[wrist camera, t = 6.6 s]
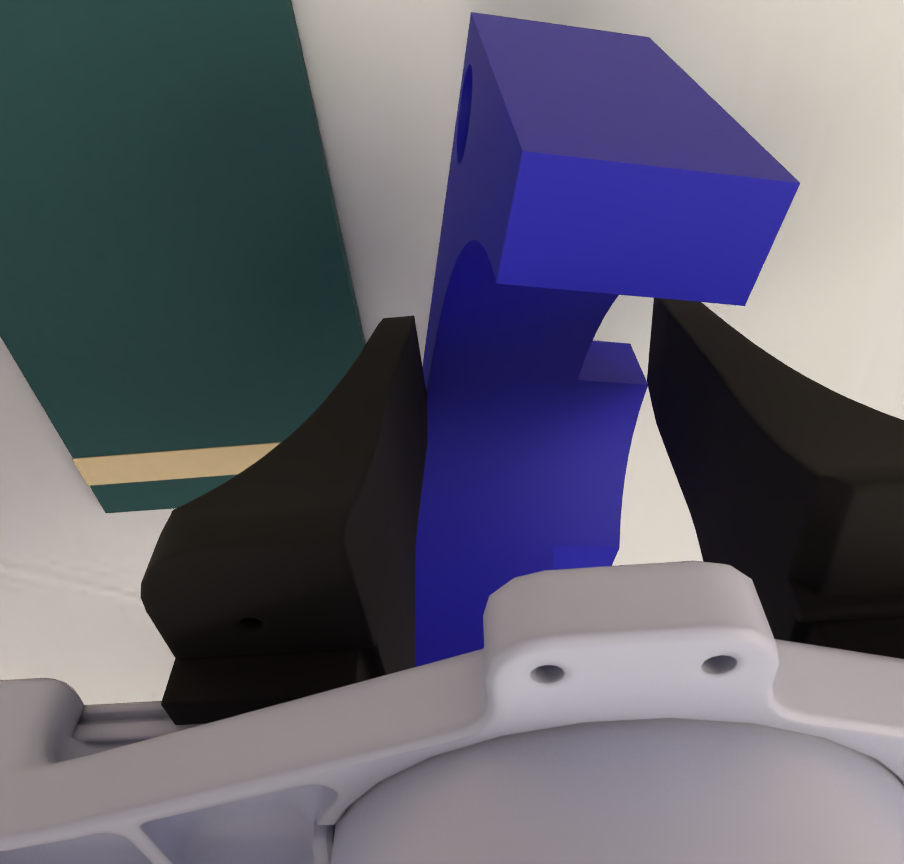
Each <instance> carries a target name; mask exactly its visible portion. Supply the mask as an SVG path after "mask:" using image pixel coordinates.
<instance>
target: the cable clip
mask: <svg viewBox="0 0 904 864" xmlns="http://www.w3.org/2000/svg"><path fill="white" fill-rule="evenodd" d="M799 185H800V182H799V181H798V180H797V179H795V178H794V177H793V176H792V175H791V174H790V173H789V172H788V171H787V170H786V169H785V168H784V167H783V166H782V165H781V164H780V163H779V162H778V161H777V160H776V159H775V158H774V157H773V156H772V155H771V154H770V153H769V152H767V151H766V150H765V149H764V148H763V147H762V146H761V145H760V144H759V143H758V142H757V141H756V140H755V139H754V138H753V137H752V136H751V135H750V134H749V133H748V132H747V131H746V130H745V129H744V128H743V127H742V126H741V125H739V124H738V123H737V122H736V121H735V120H734V119H733V118H732V117H731V116H730V115H729V114H728V113H727V112H726V111H725V110H724V109H723V108H722V107H721V106H720V105H719V104H718V103H717V102H716V101H715V100H714V99H713V98H711V97H710V96H709V95H708V94H707V93H706V92H705V91H704V90H703V89H702V88H701V87H700V86H699V85H698V84H697V83H696V82H695V81H694V80H693V79H692V78H691V77H690V76H689V75H688V74H687V73H686V72H685V71H683V70H682V69H681V68H680V67H679V66H678V65H677V64H676V63H675V62H674V61H673V60H672V59H671V58H670V57H669V56H668V55H667V54H666V53H665V52H664V51H663V50H662V49H661V48H660V47H659V46H658V45H657V44H655V43H654V42H653V41H652V40H651V39H650V38H649V37H644V36H637V35H629V34H622V33H615V32H608V31H601V30H594V29H587V28H580V27H573V26H566V25H559V24H551V23H544V22H537V21H530V20H523V19H516V18H509V17H502V16H495V15H488V14H480V13H473V12H471V17H470V24H469V31H468V39H467V46H466V53H465V61H464V68H463V75H462V82H461V90H460V97H459V104H458V112H457V119H456V126H455V133H454V141H453V148H452V155H451V163H450V170H449V177H448V185H447V192H446V199H445V206H444V214H443V221H442V228H441V236H440V243H439V250H438V257H437V265H436V272H435V279H434V287H433V294H432V301H431V308H430V316H429V323H428V330H427V338H426V345H425V352H424V360H423V367H422V368H423V375H424V381H425V387H426V393H427V411H428V442H427V451H426V460H425V468H424V477H423V485H422V493H421V501H420V509H419V517H418V525H417V536H416V564H415V654H416V667H418V666H421V665H425V664H429V663H432V662H436V661H440V660H443V659H447V658H451V657H455V656H458V655H462V654H466V653H469V652H473V651H477V650H480V649H483V648H484V628H483V614H484V611H485V608H486V605H487V602H488V598H489V596H490V595H491V594H492V593H494V592H495V591H497V590H498V589H499V588H501V587H502V586H504V585H505V584H506V583H508V582H509V581H510V580H512V579H513V578H515V577H519V576H523V575H527V574H532V573H536V572H540V571H544V570H558V569H574V568H589V567H604V566H612V564H613V561H614V559H615V557H616V554H617V552H618V550H619V542H620V519H621V507H622V496H623V488H624V479H625V473H626V467H627V461H628V455H629V450H630V446H631V441H632V436H633V432H634V428H635V425H636V421H637V417H638V413H639V410H640V407H641V404H642V401H643V398H644V395H645V392H646V389H647V387H648V384H647V381H646V379H645V377H644V374H643V372H642V370H641V367H640V365H639V363H638V361H637V358H636V356H635V354H634V351H633V349H632V347H631V344H628V343H615V342H603V341H592V340H593V338H594V336H595V334H596V332H597V330H598V328H599V326H600V324H601V322H602V320H603V318H604V316H605V315H606V313H607V312H608V310H609V308H610V307H611V305H612V303H613V302H614V301H615V300H616V298H617V297H618V296H619V295H630V296H641V297H652V298H663V299H675V300H686V301H697V302H708V303H719V304H730V305H741V306H745V304H746V302H747V300H748V297H749V295H750V293H751V291H752V289H753V286H754V284H755V282H756V280H757V277H758V275H759V273H760V271H761V269H762V266H763V264H764V262H765V260H766V258H767V255H768V253H769V251H770V249H771V247H772V244H773V242H774V240H775V238H776V235H777V233H778V231H779V229H780V227H781V224H782V222H783V220H784V218H785V216H786V213H787V211H788V209H789V207H790V205H791V202H792V200H793V198H794V196H795V194H796V191H797V189H798V187H799Z"/></svg>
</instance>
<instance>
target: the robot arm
mask: <svg viewBox="0 0 904 864" xmlns="http://www.w3.org/2000/svg"><path fill="white" fill-rule="evenodd" d="M647 383H648V388H649V393H650V397H651V402H652V407H653V411H654V415H655V420H656V423H657V426H658V429H659V432H660V434H661V437H662V440H663V443H664V445H665V448H666V451H667V453H668V456H669V458H670V461H671V464H672V466H673V469H674V471H675V474H676V477H677V479H678V482H679V485H680V487H681V490H682V492H683V495H684V498H685V500H686V503H687V505H688V508H689V511H690V514H691V517H692V520H693V523H694V526H695V529H696V533H697V537H698V541H699V545H700V549H701V553H702V557H703V561H704V562H701V561H682V562H666V563H651V564H635V565H620V566H604V567H589V568H574V569H558V570H544V571H540V572H536V573H532V574H527V575H523V576H519V577H515V578H513V579H512V580H510V581H509V582H508V583H506V584H505V585H504V586H502V587H501V588H499V589H498V590H497V591H495V592H494V593H492V594H491V595H490V596H489V598H488V602H487V605H486V608H485V611H484V614H483V628H484V648H483V649H480V650H477V651H473V652H469V653H466V654H462V655H458V656H455V657H451V658H447V659H443V660H440V661H436V662H432V663H429V664H425V665H421V666H418V667H416V654H415V564H416V536H417V525H418V517H419V509H420V501H421V493H422V485H423V477H424V468H425V460H426V451H427V442H428V411H427V393H426V387H425V381H424V375H423V368H422V362H421V356H420V350H419V343H418V337H417V331H416V324H415V318H414V316H405V317H394V318H383V319H382V321H381V322H380V323H379V324H378V326H377V327H376V329H375V331H374V332H373V334H372V335H371V337H370V339H369V340H368V342H367V343H366V345H365V346H364V348H363V349H362V351H361V352H360V354H359V356H358V357H357V358H356V360H355V361H354V363H353V364H352V365H351V367H350V368H349V370H348V371H347V372H346V374H345V375H344V377H343V378H342V379H341V381H340V382H339V383H338V384H337V386H336V387H335V388H334V389H333V390H332V392H331V393H330V394H329V395H328V397H327V398H326V399H325V400H324V401H323V403H322V404H321V405H320V406H319V407H318V408H317V409H316V410H315V412H314V413H313V414H312V415H311V416H310V417H309V418H308V419H307V420H306V421H305V422H304V423H303V424H302V425H301V426H300V427H298V428H297V429H296V430H295V431H294V432H293V433H292V434H291V435H290V436H288V437H287V438H286V439H285V440H283V441H282V442H281V443H280V444H278V445H277V446H276V447H275V448H273V449H272V450H271V451H270V452H269V453H267V454H266V455H265V456H264V457H262V458H261V459H260V460H258V461H257V462H255V463H254V464H252V465H251V466H250V467H248V468H247V469H245V470H244V471H242V472H241V473H239V474H238V475H236V476H234V477H233V478H231V479H230V480H228V481H226V482H225V483H223V484H221V485H220V486H218V487H216V488H215V489H213V490H211V491H209V492H207V493H205V494H203V495H201V496H200V497H198V498H196V499H194V500H192V501H190V502H188V503H186V504H185V505H183V506H181V507H179V508H176V509H174V510H173V511H172V513H171V515H170V517H169V519H168V521H167V523H166V525H165V527H164V529H163V530H162V532H161V535H160V537H159V539H158V542H157V544H156V547H155V549H154V552H153V554H152V557H151V559H150V562H149V565H148V567H147V570H146V572H145V575H144V578H143V580H142V583H141V599H142V602H143V604H144V607H145V609H146V612H147V613H148V615H149V616H150V618H151V620H152V621H153V623H154V624H155V626H156V628H157V629H158V631H159V632H160V634H161V636H162V637H163V639H164V641H165V642H166V644H167V645H168V647H169V649H170V650H171V652H172V653H173V655H174V657H175V658H176V659H175V662H174V665H173V668H172V671H171V674H170V677H169V680H168V684H167V687H166V690H165V693H164V696H163V699H162V701H152V702H133V703H115V704H97V705H84V704H83V702H82V701H81V699H80V697H79V695H78V694H77V693H76V691H75V690H74V689H73V688H72V687H71V686H69V685H68V684H67V683H65V682H62V681H59V680H56V679H50V678H34V679H17V680H0V864H904V420H901V419H899V418H896V417H893V416H890V415H888V414H885V413H882V412H880V411H877V410H875V409H873V408H870V407H868V406H866V405H863V404H861V403H858V402H856V401H854V400H851V399H849V398H847V397H845V396H843V395H840V394H838V393H836V392H834V391H832V390H830V389H828V388H826V387H824V386H823V385H821V384H819V383H817V382H815V381H813V380H811V379H809V378H807V377H806V376H804V375H802V374H800V373H799V372H797V371H795V370H793V369H792V368H790V367H788V366H787V365H785V364H784V363H782V362H781V361H779V360H778V359H776V358H775V357H773V356H771V355H770V354H768V353H767V352H765V351H764V350H763V349H761V348H760V347H758V346H757V345H755V344H754V343H753V342H751V341H750V340H749V339H747V338H746V337H744V336H743V335H742V334H740V333H739V332H738V331H736V330H735V329H734V328H733V327H731V326H730V325H729V324H727V323H726V322H725V321H724V320H722V319H721V318H720V317H719V316H717V315H716V314H715V313H714V312H712V311H711V310H710V309H709V308H708V307H706V306H705V305H704V304H703V303H701V302H697V301H686V300H675V299H663V298H654V304H653V316H652V328H651V340H650V351H649V363H648V375H647Z"/></svg>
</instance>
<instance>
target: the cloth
mask: <svg viewBox="0 0 904 864" xmlns="http://www.w3.org/2000/svg"><path fill="white" fill-rule="evenodd" d="M0 336H1V338H2V340H3V341H4V343H5V345H6V346H7V348H8V350H9V351H10V353H11V355H12V357H13V358H14V360H15V362H16V363H17V365H18V367H19V368H20V370H21V372H22V373H23V375H24V377H25V378H26V380H27V382H28V383H29V385H30V387H31V388H32V390H33V392H34V393H35V395H36V397H37V398H38V400H39V402H40V403H41V405H42V407H43V408H44V410H45V412H46V414H47V415H48V417H49V419H50V420H51V422H52V424H53V425H54V427H55V429H56V430H57V432H58V434H59V435H60V437H61V439H62V440H63V442H64V444H65V445H66V447H67V449H68V450H69V452H70V454H71V455H72V457H73V458H72V460H73V462H74V463H75V465H76V467H77V468H78V470H79V472H80V473H81V475H82V477H83V478H84V480H85V482H86V483H87V485H88V486H90V487H91V489H92V491H93V492H94V494H95V496H96V497H97V499H98V501H99V502H100V504H101V506H102V507H103V509H104V511H105V512H106V513H115V512H129V511H143V510H156V509H170V508H179V507H181V506H183V505H185V504H186V503H188V502H190V501H192V500H194V499H196V498H198V497H200V496H201V495H203V494H205V493H207V492H209V491H211V490H213V489H215V488H216V487H218V486H220V485H221V484H223V483H225V482H226V481H228V480H230V479H231V478H233V477H234V476H236V475H238V474H239V473H241V472H242V471H244V470H245V469H247V468H248V467H250V466H251V465H252V464H254V463H255V462H257V461H258V460H260V459H261V458H262V457H264V456H265V455H266V454H267V453H269V452H270V451H271V450H272V449H273V448H275V447H276V446H277V445H278V444H280V443H281V442H282V441H283V440H285V439H286V438H287V437H288V436H290V435H291V434H292V433H293V432H294V431H295V430H296V429H297V428H298V427H300V426H301V425H302V424H303V423H304V422H305V421H306V420H307V419H308V418H309V417H310V416H311V415H312V414H313V413H314V412H315V410H316V409H317V408H318V407H319V406H320V405H321V404H322V403H323V401H324V400H325V399H326V398H327V397H328V395H329V394H330V393H331V392H332V390H333V389H334V388H335V387H336V386H337V384H338V383H339V382H340V381H341V379H342V378H343V377H344V375H345V374H346V372H347V371H348V370H349V368H350V367H351V365H352V364H353V363H354V361H355V360H356V358H357V357H358V356H359V354H360V352H361V351H362V349H363V348H364V346H365V341H364V336H363V332H362V327H361V322H360V318H359V313H358V309H357V304H356V299H355V295H354V290H353V285H352V281H351V276H350V272H349V267H348V262H347V258H346V253H345V248H344V244H343V239H342V235H341V230H340V225H339V221H338V216H337V211H336V207H335V202H334V198H333V193H332V188H331V184H330V179H329V174H328V170H327V165H326V160H325V156H324V151H323V147H322V142H321V137H320V133H319V128H318V123H317V119H316V114H315V110H314V105H313V100H312V96H311V91H310V86H309V82H308V77H307V73H306V68H305V63H304V59H303V54H302V49H301V45H300V40H299V36H298V31H297V26H296V22H295V17H294V12H293V8H292V3H291V0H0Z"/></svg>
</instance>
